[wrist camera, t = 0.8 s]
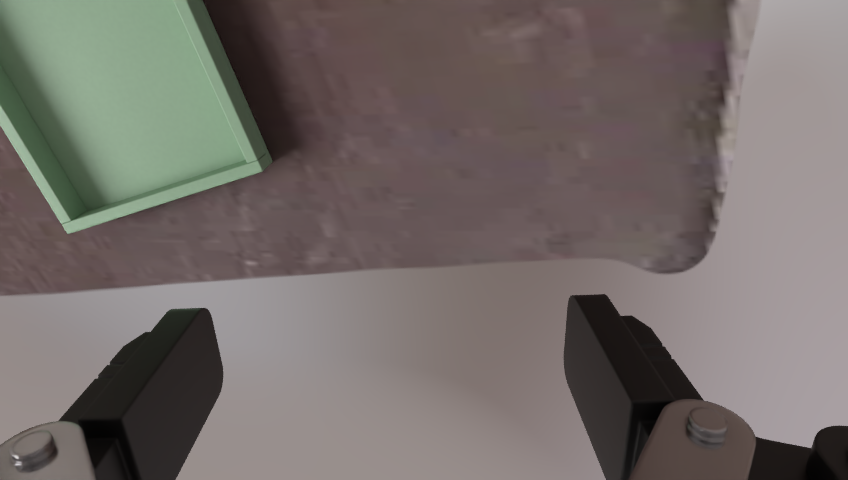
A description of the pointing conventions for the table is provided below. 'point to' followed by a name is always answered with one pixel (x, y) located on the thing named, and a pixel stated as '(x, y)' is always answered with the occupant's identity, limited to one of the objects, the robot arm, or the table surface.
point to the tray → (122, 104)
